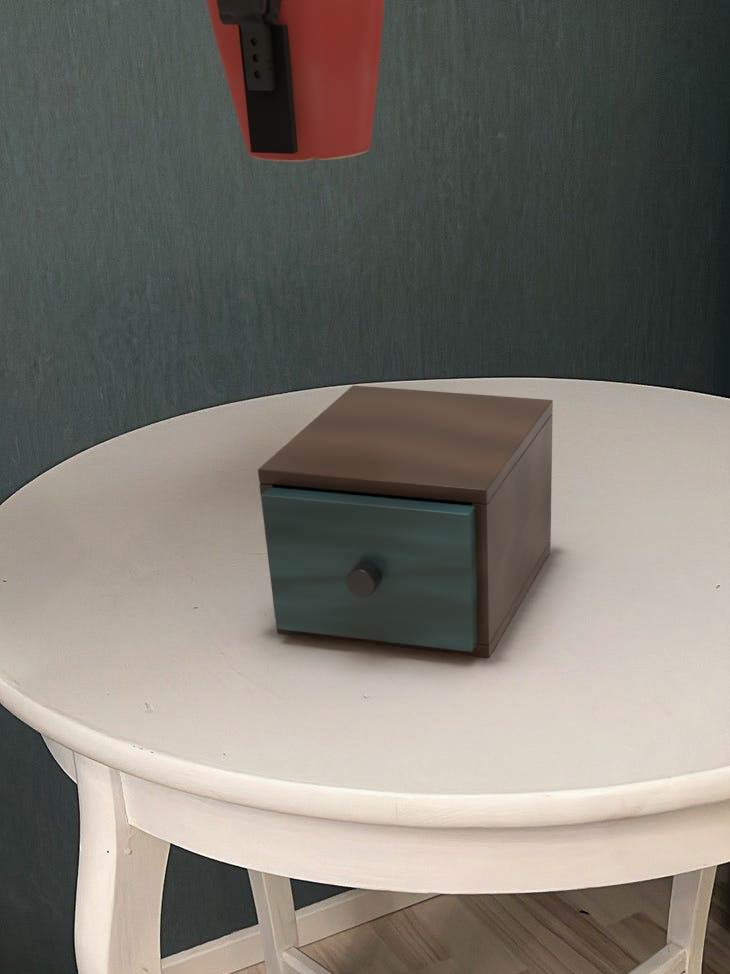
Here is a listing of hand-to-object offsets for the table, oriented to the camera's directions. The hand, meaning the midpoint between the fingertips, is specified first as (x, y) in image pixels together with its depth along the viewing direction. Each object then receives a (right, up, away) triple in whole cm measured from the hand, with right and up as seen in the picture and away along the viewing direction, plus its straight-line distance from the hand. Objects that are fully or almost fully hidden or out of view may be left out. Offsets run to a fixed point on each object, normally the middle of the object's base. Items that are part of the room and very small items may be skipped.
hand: (307, 137), depth 85 cm
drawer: (+7, -30, -6) cm, 31 cm away
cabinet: (+7, -29, -4) cm, 30 cm away
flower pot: (0, -1, +1) cm, 1 cm away
